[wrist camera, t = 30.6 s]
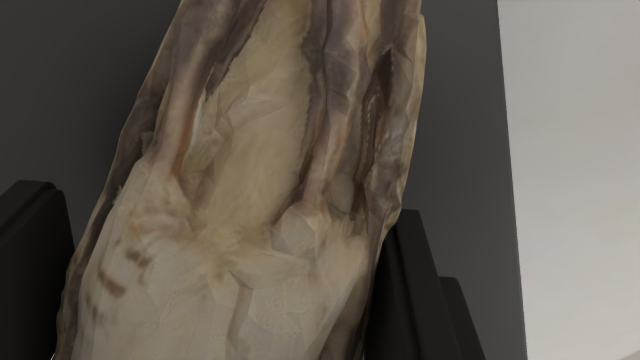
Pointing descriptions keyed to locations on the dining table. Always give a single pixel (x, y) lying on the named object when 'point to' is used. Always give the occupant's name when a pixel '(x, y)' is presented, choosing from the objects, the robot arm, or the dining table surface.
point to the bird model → (251, 186)
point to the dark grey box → (426, 161)
